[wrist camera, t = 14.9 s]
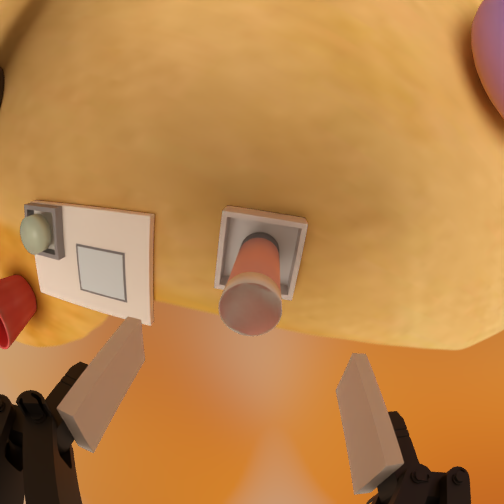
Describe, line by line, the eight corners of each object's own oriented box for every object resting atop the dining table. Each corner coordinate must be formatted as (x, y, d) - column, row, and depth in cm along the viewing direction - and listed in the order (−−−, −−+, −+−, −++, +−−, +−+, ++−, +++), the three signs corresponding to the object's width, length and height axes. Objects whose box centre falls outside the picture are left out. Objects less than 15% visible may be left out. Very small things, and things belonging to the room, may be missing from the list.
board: (36, 200, 30) (23, 203, 27) (154, 214, 29) (144, 219, 27) (45, 288, 34) (35, 295, 32) (154, 320, 34) (146, 331, 31)
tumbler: (242, 228, 28) (221, 276, 17) (282, 235, 28) (287, 287, 17) (237, 265, 30) (216, 330, 19) (275, 272, 30) (275, 340, 18)
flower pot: (52, 309, 36) (16, 340, 26) (30, 328, 38) (0, 355, 29) (19, 255, 33) (-22, 277, 24) (1, 282, 36) (-32, 304, 26)
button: (27, 211, 28) (18, 214, 26) (50, 215, 27) (41, 218, 26) (30, 247, 29) (22, 251, 27) (53, 252, 29) (44, 257, 27)
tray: (227, 205, 28) (222, 210, 26) (304, 217, 28) (308, 224, 25) (219, 276, 31) (214, 288, 28) (290, 287, 31) (291, 300, 28)
